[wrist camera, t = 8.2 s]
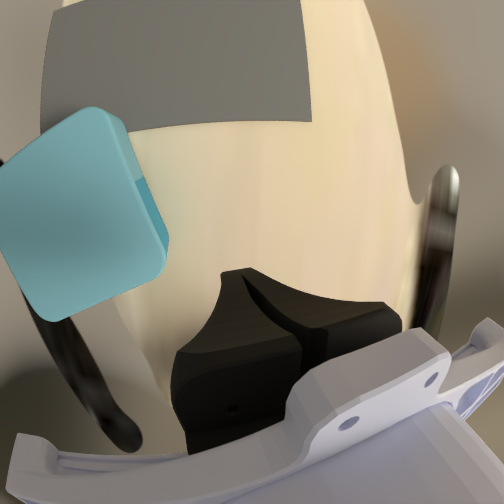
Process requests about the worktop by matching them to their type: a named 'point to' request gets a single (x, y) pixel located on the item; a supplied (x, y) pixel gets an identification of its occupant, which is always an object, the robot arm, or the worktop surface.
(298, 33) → the mat
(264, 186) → the worktop surface
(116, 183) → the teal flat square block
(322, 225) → the worktop surface
